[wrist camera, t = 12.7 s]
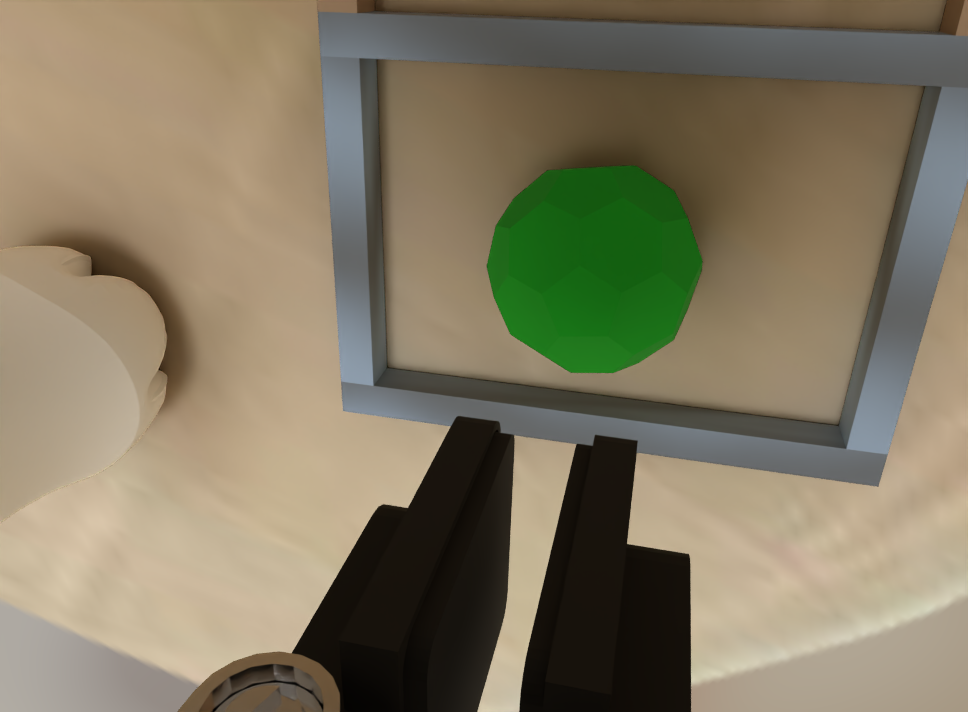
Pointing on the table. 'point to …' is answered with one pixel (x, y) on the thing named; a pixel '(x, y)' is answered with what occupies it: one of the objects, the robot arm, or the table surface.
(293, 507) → the table surface
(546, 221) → the polyhedron
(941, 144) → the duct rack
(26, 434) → the water bottle
